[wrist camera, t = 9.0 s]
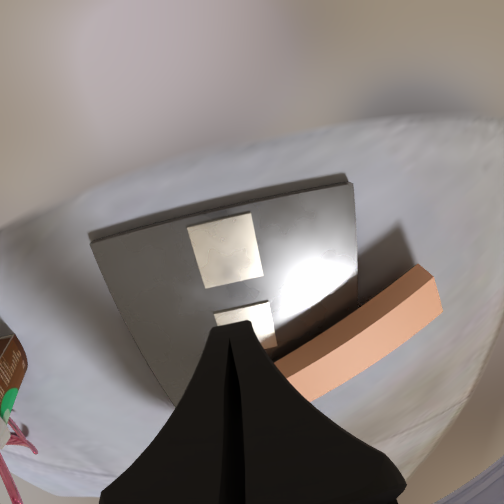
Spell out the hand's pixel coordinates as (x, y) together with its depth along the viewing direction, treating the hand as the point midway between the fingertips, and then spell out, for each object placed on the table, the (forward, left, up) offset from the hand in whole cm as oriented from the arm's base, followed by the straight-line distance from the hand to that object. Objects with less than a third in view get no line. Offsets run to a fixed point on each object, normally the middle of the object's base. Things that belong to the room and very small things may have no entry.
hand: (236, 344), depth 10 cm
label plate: (-5, +4, -8) cm, 10 cm away
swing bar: (-11, +1, -7) cm, 13 cm away
